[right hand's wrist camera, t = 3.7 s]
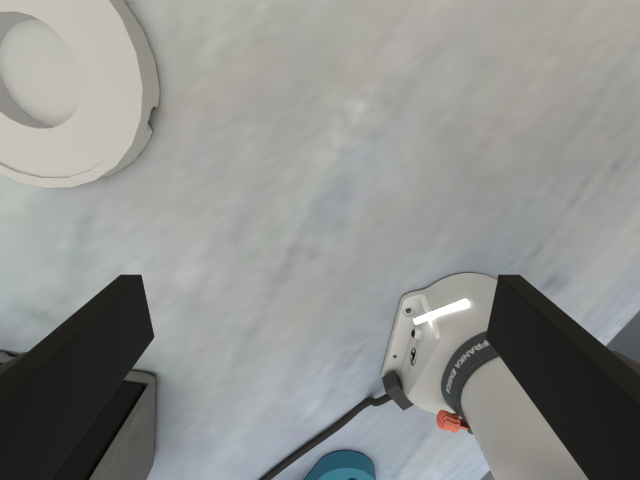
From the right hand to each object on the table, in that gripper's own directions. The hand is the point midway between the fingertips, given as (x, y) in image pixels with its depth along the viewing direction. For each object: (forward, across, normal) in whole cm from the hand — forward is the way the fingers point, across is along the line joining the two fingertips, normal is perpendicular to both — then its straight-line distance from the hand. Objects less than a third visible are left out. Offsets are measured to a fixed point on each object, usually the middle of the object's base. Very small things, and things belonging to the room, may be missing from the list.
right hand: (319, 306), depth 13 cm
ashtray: (+31, -29, +10) cm, 44 cm away
